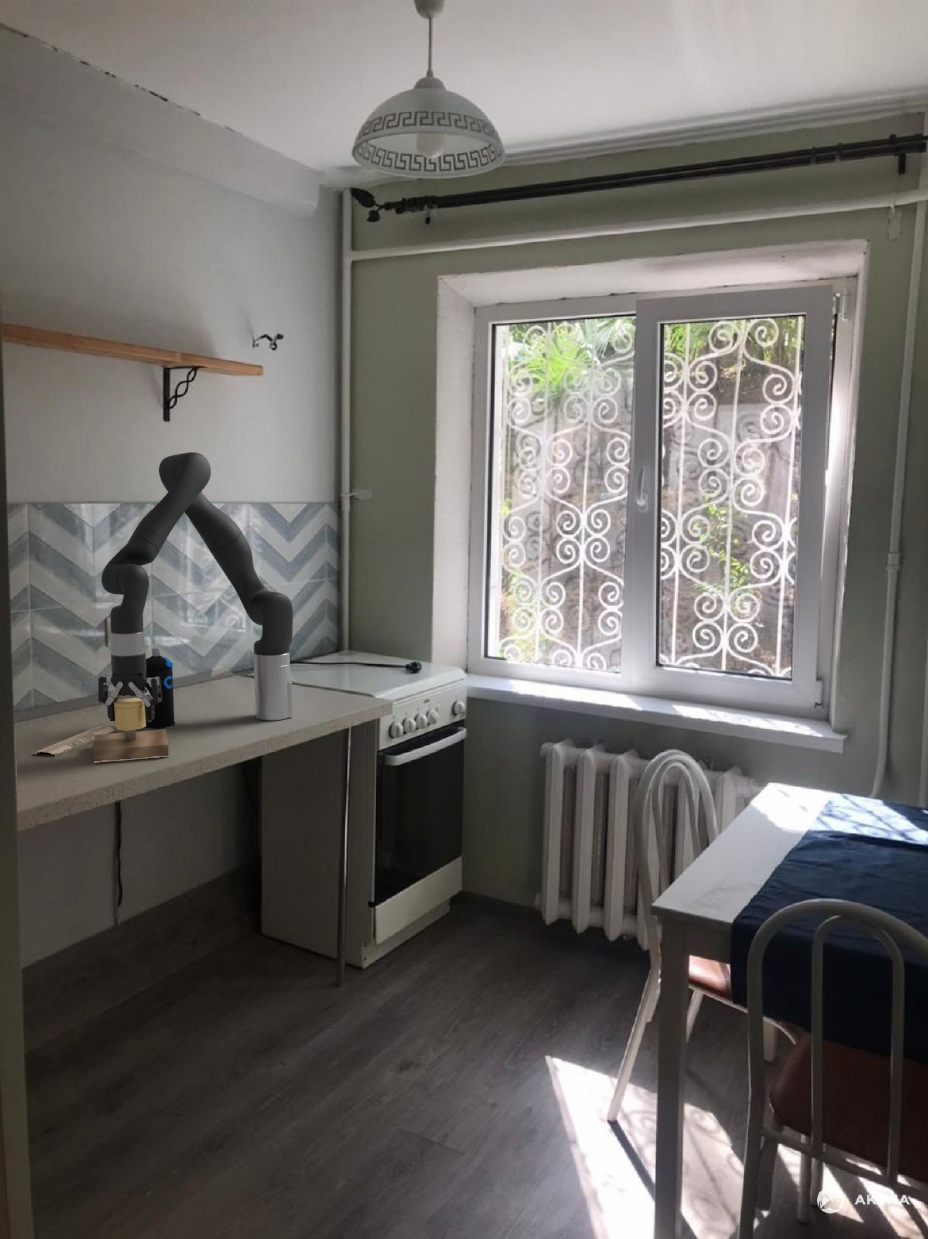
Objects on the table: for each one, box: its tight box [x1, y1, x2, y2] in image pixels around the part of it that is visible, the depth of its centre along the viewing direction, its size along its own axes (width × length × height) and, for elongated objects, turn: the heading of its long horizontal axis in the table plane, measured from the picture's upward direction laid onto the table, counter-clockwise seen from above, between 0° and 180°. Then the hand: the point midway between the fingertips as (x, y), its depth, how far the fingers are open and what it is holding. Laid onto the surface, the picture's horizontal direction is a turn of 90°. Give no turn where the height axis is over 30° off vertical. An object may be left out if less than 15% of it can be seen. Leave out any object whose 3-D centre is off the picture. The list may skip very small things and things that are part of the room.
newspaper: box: [33, 725, 116, 755], centre depth 238 cm, size 24×7×2 cm, turn 166°
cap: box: [114, 697, 146, 732], centre depth 228 cm, size 6×6×6 cm
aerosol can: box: [143, 647, 177, 730], centre depth 253 cm, size 8×8×20 cm
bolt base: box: [92, 729, 169, 761], centre depth 229 cm, size 16×14×11 cm
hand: (131, 721), depth 228 cm, fingers open, 8 cm apart
